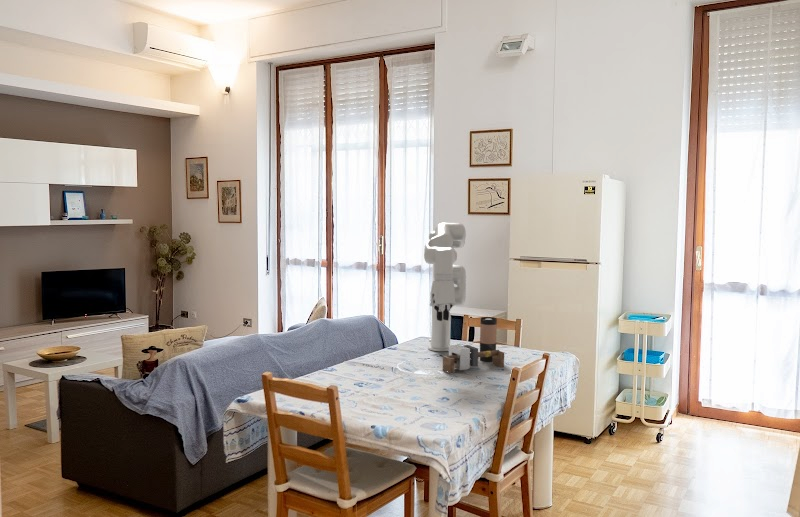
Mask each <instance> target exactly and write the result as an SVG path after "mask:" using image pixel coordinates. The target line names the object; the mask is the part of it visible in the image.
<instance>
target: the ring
mask: <svg viewBox="0 0 800 517" xmlns="http://www.w3.org/2000/svg"><path fill="white" fill-rule="evenodd" d="M462 346H464V347H467V348H470V353H471V359H470V367H471V368H477V367H478V366H479V358H478V352H479V348H478V347H475V346H472V345H470V344H464V345H462Z"/></svg>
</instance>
